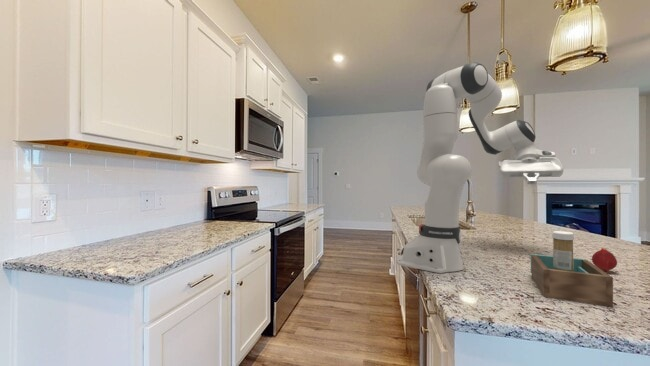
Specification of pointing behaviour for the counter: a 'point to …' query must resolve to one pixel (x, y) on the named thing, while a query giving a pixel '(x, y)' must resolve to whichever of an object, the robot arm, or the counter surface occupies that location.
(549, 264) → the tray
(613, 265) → the onion
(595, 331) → the counter surface
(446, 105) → the robot arm
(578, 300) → the open wooden box
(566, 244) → the pill bottle
